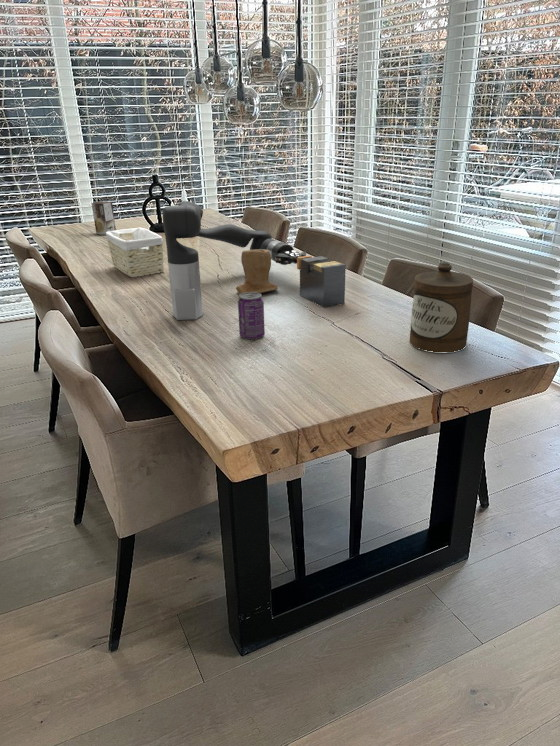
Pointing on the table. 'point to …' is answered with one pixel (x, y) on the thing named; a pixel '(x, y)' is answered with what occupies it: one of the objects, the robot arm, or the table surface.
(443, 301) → the wooden container
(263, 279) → the stone cup
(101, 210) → the coffee box
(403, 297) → the table surface
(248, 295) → the beverage can
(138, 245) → the storage basket
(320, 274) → the latch bracket
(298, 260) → the sliding latch bolt
